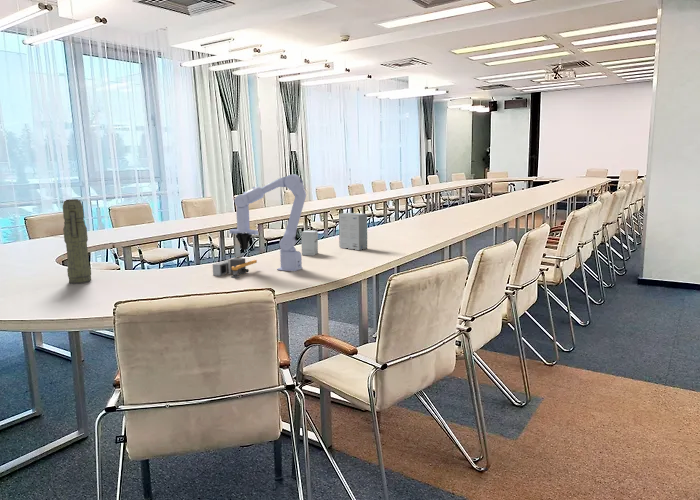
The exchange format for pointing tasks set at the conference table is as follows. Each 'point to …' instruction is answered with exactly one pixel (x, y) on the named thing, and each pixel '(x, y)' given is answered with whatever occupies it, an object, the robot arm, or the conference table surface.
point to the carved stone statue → (76, 242)
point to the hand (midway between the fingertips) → (244, 249)
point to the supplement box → (309, 242)
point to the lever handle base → (235, 274)
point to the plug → (234, 263)
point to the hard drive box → (353, 231)
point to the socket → (220, 268)
